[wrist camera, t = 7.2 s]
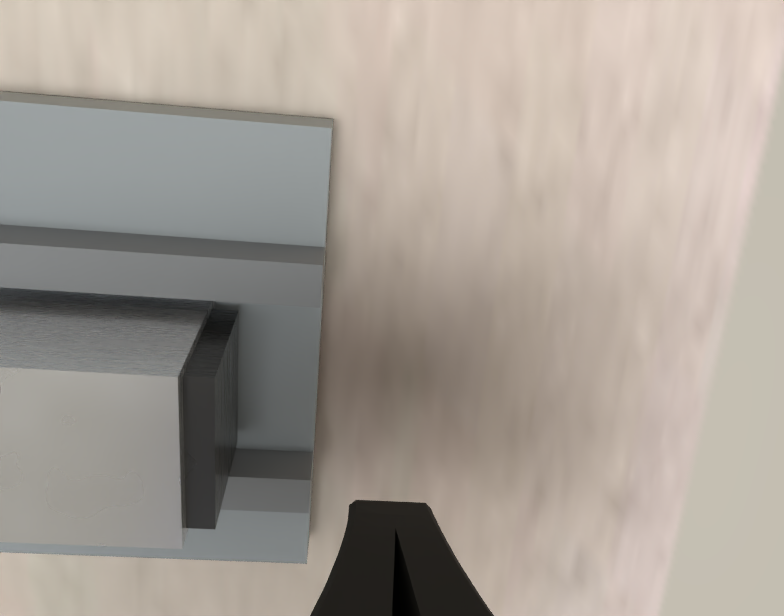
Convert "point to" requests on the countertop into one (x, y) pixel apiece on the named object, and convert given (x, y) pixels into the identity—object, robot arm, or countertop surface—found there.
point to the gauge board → (188, 269)
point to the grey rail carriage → (114, 417)
